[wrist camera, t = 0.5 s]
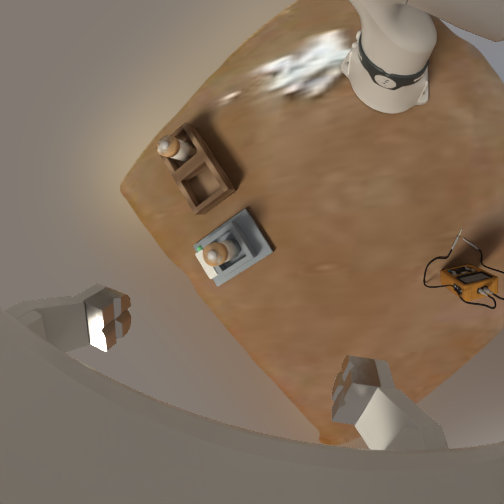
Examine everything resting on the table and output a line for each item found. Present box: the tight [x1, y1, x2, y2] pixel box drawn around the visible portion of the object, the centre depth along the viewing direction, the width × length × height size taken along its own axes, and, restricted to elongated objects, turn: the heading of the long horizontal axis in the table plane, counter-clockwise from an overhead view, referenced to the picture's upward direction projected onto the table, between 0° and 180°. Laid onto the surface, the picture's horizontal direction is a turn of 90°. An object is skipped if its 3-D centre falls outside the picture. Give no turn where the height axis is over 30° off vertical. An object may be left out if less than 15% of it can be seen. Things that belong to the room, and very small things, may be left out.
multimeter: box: [423, 230, 504, 309], centre depth 36 cm, size 15×10×20 cm
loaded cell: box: [157, 135, 196, 162], centre depth 54 cm, size 4×4×9 cm
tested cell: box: [203, 239, 240, 267], centre depth 54 cm, size 4×4×9 cm
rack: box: [156, 123, 237, 214], centre depth 57 cm, size 18×8×4 cm, turn 34°
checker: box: [193, 209, 274, 287], centre depth 57 cm, size 10×14×4 cm
